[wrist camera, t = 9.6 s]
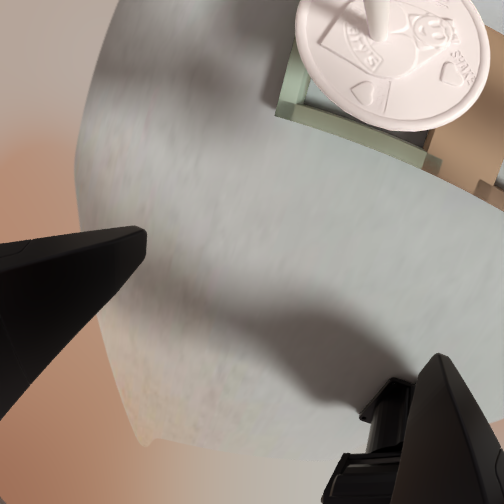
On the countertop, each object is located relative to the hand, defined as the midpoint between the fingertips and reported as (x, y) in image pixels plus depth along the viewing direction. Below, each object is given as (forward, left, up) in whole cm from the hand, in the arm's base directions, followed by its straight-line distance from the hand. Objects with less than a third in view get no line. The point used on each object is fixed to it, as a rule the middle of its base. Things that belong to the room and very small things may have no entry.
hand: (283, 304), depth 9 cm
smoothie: (+8, -1, -13) cm, 15 cm away
